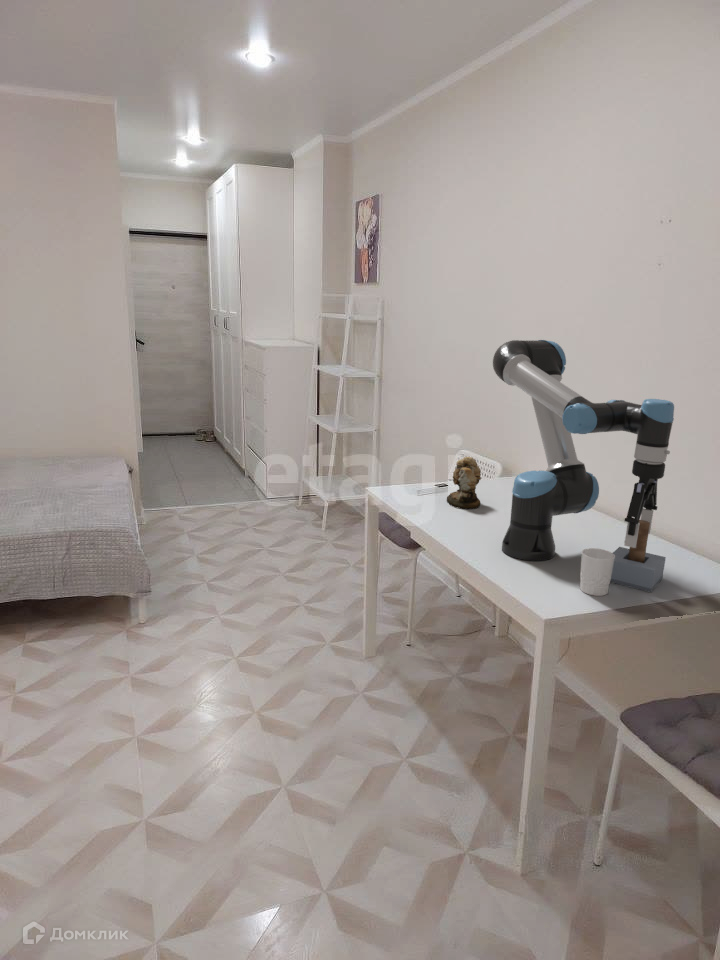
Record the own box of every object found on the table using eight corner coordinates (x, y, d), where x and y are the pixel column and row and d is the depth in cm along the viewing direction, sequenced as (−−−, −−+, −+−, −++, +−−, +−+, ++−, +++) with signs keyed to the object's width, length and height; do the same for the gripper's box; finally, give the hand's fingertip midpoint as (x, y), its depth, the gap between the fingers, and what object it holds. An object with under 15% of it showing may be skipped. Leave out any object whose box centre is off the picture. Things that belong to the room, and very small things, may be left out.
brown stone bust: (441, 495, 252) (444, 451, 248) (472, 495, 254) (475, 451, 249) (452, 509, 235) (455, 462, 231) (485, 509, 236) (489, 462, 232)
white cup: (609, 599, 166) (614, 561, 163) (576, 593, 168) (580, 556, 166) (610, 587, 173) (615, 551, 170) (578, 582, 175) (582, 546, 173)
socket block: (603, 580, 177) (606, 558, 176) (616, 567, 187) (619, 546, 185) (651, 592, 170) (654, 570, 169) (662, 578, 180) (665, 557, 178)
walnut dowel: (624, 576, 178) (631, 522, 174) (628, 571, 181) (635, 518, 177) (639, 580, 175) (647, 525, 172) (643, 575, 179) (651, 521, 175)
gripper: (652, 472, 159) (639, 556, 164) (676, 455, 178) (664, 530, 184) (620, 467, 163) (608, 548, 169) (647, 450, 182) (635, 524, 188)
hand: (637, 539), depth 176 cm, fingers open, 13 cm apart
